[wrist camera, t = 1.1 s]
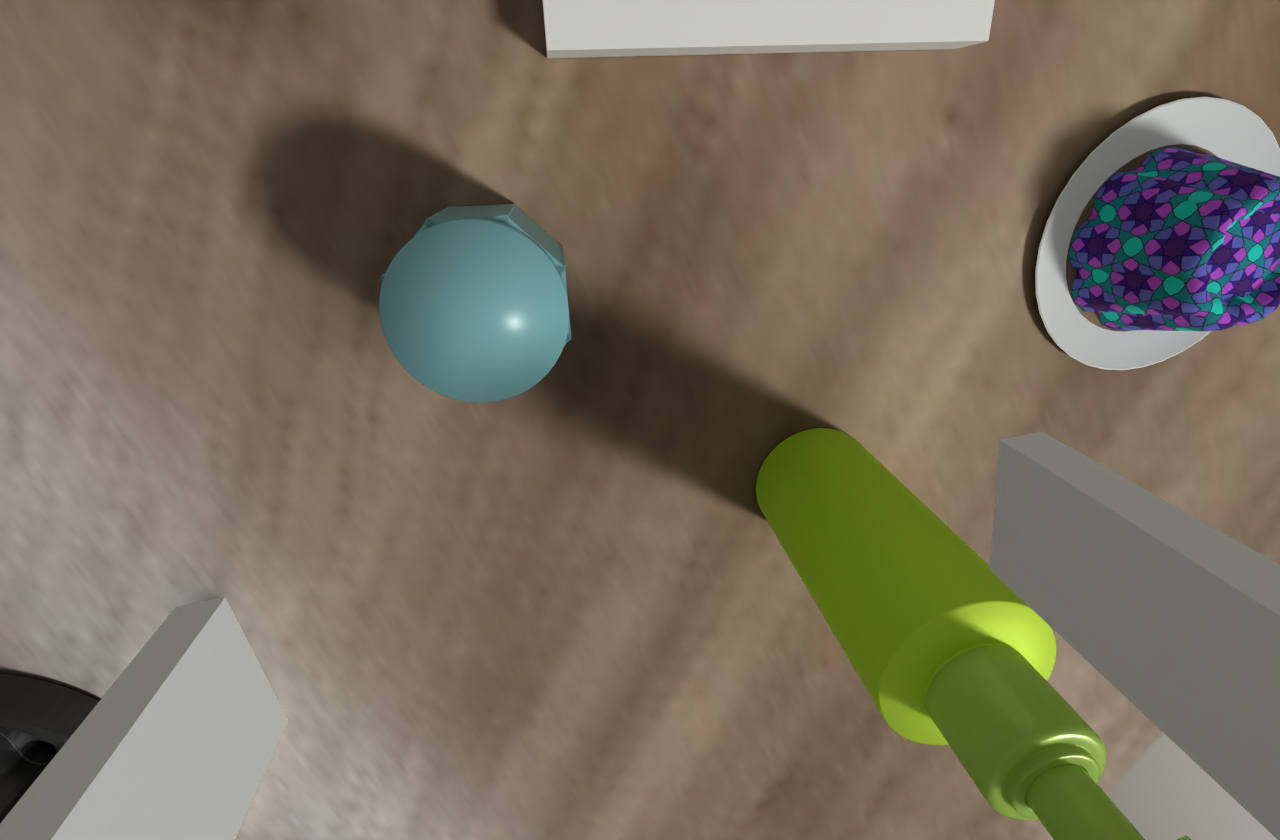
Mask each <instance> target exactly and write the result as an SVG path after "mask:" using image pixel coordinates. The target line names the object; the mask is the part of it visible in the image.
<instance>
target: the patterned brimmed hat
mask: <svg viewBox="0 0 1280 840" xmlns="http://www.w3.org/2000/svg"><path fill="white" fill-rule="evenodd" d="M1176 144H1186V145H1196V146H1198V147H1201V148H1204V149H1207V150H1209V151H1211V152H1212V153H1214V154H1215V155H1216V156H1218V157H1219V158H1218V157H1215V156H1212V155H1209V154H1203V155H1201V154H1198V153H1195V152H1192V151H1189V150H1185V149H1182V148H1172V147H1165V148H1162V149H1160V150H1158V151H1155V152H1153V153H1151V154H1149V155H1148V157H1147V158H1146V159H1145V160H1144V161H1143V163H1142V164H1141V165H1140V166H1139V168H1138V169H1137V170H1135V171H1120V172H1118V173H1117V174H1116V175H1114V176H1113V177H1112V178H1110V179H1109V180H1108V181H1107V182H1105V181H1106V180H1107V179H1108V178H1109V177H1110V176H1111V175H1112V174H1114V173H1115V172H1116V171H1117V170H1118V169H1119V168H1121V167H1122V166H1123V165H1125V164H1126V163H1128V162H1129V161H1131V160H1132V159H1134V158H1136V157H1138V156H1140V155H1142V154H1144V153H1146V152H1148V151H1150V150H1153V149H1156V148H1160V147H1163V146H1167V145H1176ZM1104 182H1105V184H1104V185H1103V186H1102V188H1101V189H1100V191H1099V192H1098V193H1097V195H1096V196H1095V198H1094V204H1093V211H1092V216H1091V217H1090V218H1089V219H1088V220H1087V221H1085V222H1084V223H1083V224H1082V225H1081V226H1080V227H1078V228H1077V230H1076V232H1075V234H1074V237H1073V239H1072V241H1071V244H1070V252H1069V261H1070V263H1071V264H1072V265H1073V267H1074V268H1075V269H1076V271H1077V275H1076V277H1075V280H1074V283H1073V285H1072V288H1071V291H1072V295H1073V299H1074V302H1075V304H1076V305H1077V306H1078V307H1079V308H1080V309H1081V310H1082V311H1091V312H1098V314H1099V317H1100V320H1101V324H1102V325H1104V326H1106V327H1108V328H1111V329H1113V330H1136V331H1128V332H1119V331H1110V330H1106V329H1103V328H1100V327H1098V326H1096V325H1094V324H1092V323H1090V322H1089V321H1088V320H1087V319H1086V318H1084V317H1083V316H1082V315H1081V314H1080V313H1079V311H1078V310H1077V308H1076V307H1075V305H1074V304H1073V301H1072V299H1071V296H1070V294H1069V291H1068V286H1067V280H1066V259H1067V253H1068V247H1069V243H1070V240H1071V237H1072V234H1073V231H1074V228H1075V226H1076V224H1077V222H1078V220H1079V217H1080V215H1081V213H1082V211H1083V210H1084V208H1085V207H1086V205H1087V204H1088V202H1089V201H1090V199H1091V198H1092V196H1093V195H1094V194H1095V192H1096V191H1097V190H1098V189H1099V188H1100V187H1101V185H1102V184H1103V183H1104ZM1035 283H1036V298H1037V303H1038V308H1039V313H1040V316H1041V318H1042V320H1043V323H1044V325H1045V327H1046V330H1047V332H1048V333H1049V334H1050V336H1051V337H1052V339H1053V340H1054V341H1055V343H1056V344H1057V346H1059V347H1060V348H1061V349H1062V350H1063V351H1064V352H1066V353H1067V354H1068V355H1069V356H1070V357H1072V358H1074V359H1076V360H1078V361H1080V362H1082V363H1084V364H1086V365H1089V366H1093V367H1097V368H1101V369H1109V370H1127V369H1134V368H1141V367H1145V366H1148V365H1151V364H1155V363H1158V362H1161V361H1164V360H1166V359H1168V358H1170V357H1172V356H1174V355H1176V354H1178V353H1181V352H1183V351H1184V350H1186V349H1187V348H1189V347H1190V346H1192V345H1193V344H1195V343H1197V342H1198V341H1200V340H1201V339H1203V338H1204V337H1205V336H1206V335H1207V334H1209V333H1210V332H1211V331H1217V330H1223V329H1227V328H1230V327H1232V326H1233V325H1246V324H1250V323H1253V322H1256V321H1258V320H1261V319H1263V318H1265V317H1266V316H1267V315H1269V314H1270V313H1271V312H1273V311H1274V310H1275V309H1276V308H1277V307H1278V305H1279V304H1280V148H1279V146H1278V144H1277V141H1276V139H1275V137H1274V135H1273V133H1272V132H1271V130H1270V129H1269V128H1268V127H1267V125H1266V124H1265V123H1264V122H1263V120H1262V119H1261V118H1260V117H1259V116H1257V115H1256V114H1254V113H1253V112H1252V111H1250V110H1249V109H1248V108H1246V107H1245V106H1242V105H1240V104H1237V103H1235V102H1232V101H1229V100H1227V99H1220V98H1212V97H1196V98H1186V99H1180V100H1177V101H1173V102H1170V103H1167V104H1163V105H1160V106H1157V107H1155V108H1153V109H1151V110H1149V111H1147V112H1145V113H1143V114H1141V115H1139V116H1137V117H1135V118H1133V119H1132V120H1131V121H1129V122H1128V123H1126V124H1125V125H1123V126H1122V127H1121V128H1119V129H1118V130H1116V131H1115V132H1113V133H1112V134H1111V135H1110V136H1109V137H1108V138H1106V139H1105V140H1104V141H1103V142H1102V143H1101V144H1100V145H1099V146H1098V147H1097V148H1096V149H1095V150H1094V151H1092V152H1091V153H1090V155H1089V156H1088V157H1087V158H1086V159H1085V161H1084V162H1083V163H1082V164H1081V165H1080V167H1079V168H1078V169H1077V170H1076V171H1075V173H1074V174H1073V175H1072V177H1071V178H1070V180H1069V182H1068V183H1067V185H1066V186H1065V188H1064V189H1063V191H1062V193H1061V194H1060V196H1059V197H1058V199H1057V201H1056V203H1055V206H1054V208H1053V210H1052V212H1051V214H1050V216H1049V218H1048V221H1047V223H1046V226H1045V229H1044V233H1043V236H1042V239H1041V242H1040V246H1039V250H1038V257H1037V264H1036V270H1035Z"/></svg>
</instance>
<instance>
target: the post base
mask: <svg viewBox="0 0 1280 840" xmlns="http://www.w3.org/2000/svg"><path fill="white" fill-rule="evenodd" d="M542 1H543V13H544V26H545V38H546V50H547V58H576V57H620V56H663V55H707V54H750V53H793V52H837V51H880V50H924V49H958V48H962V47H966V46H970V45H974V44H978V43H981V42H985V41H988V40H989V34H990V27H991V21H992V14H993V8H994V1H995V0H542Z"/></svg>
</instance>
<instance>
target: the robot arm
mask: <svg viewBox="0 0 1280 840" xmlns="http://www.w3.org/2000/svg"><path fill="white" fill-rule="evenodd" d="M989 569H990V570H991V571H992V572H993V573H994V574H995V575H996V576H997V577H998V578H999V579H1000V580H1001V581H1003V582H1004V583H1005V584H1006V585H1007V586H1008V587H1009V588H1010V589H1011V590H1012V591H1013V592H1014V593H1015V594H1016V595H1017V596H1019V597H1020V598H1021V599H1022V600H1023V601H1024V602H1025V603H1026V604H1027V605H1028V606H1029V607H1030V608H1031V609H1032V610H1033V611H1035V612H1036V613H1037V614H1038V615H1039V616H1040V617H1041V618H1042V619H1043V620H1044V621H1045V622H1046V623H1047V624H1048V625H1049V626H1051V627H1052V628H1053V629H1054V630H1055V631H1056V632H1057V633H1058V634H1059V635H1060V636H1061V637H1062V638H1063V639H1064V640H1065V641H1067V642H1068V643H1069V644H1070V645H1071V646H1072V647H1073V648H1074V649H1075V650H1076V651H1077V652H1078V653H1079V654H1080V655H1081V656H1083V657H1084V658H1085V659H1086V660H1087V661H1088V662H1089V663H1090V664H1091V665H1092V666H1093V667H1094V668H1095V669H1096V670H1097V671H1099V672H1100V673H1101V674H1102V675H1103V676H1104V677H1105V678H1106V679H1107V680H1108V681H1109V682H1110V683H1111V684H1112V685H1113V686H1115V687H1116V688H1117V689H1118V690H1119V691H1120V692H1121V693H1122V694H1123V695H1124V696H1125V697H1126V698H1127V699H1128V700H1129V701H1131V702H1132V703H1133V704H1134V705H1135V706H1136V707H1137V708H1138V709H1139V710H1140V711H1141V712H1142V713H1143V714H1144V715H1145V716H1147V717H1148V718H1149V719H1150V720H1151V721H1152V722H1153V723H1154V724H1155V725H1156V726H1157V727H1158V728H1159V729H1160V730H1161V731H1163V732H1164V733H1165V734H1166V735H1167V736H1168V737H1169V738H1170V739H1171V740H1172V741H1173V742H1174V743H1175V744H1176V745H1177V746H1179V747H1180V748H1181V749H1182V750H1183V751H1184V752H1185V753H1186V754H1187V755H1188V756H1189V757H1190V758H1191V759H1192V760H1194V761H1195V762H1196V763H1197V764H1198V765H1199V766H1200V767H1201V768H1202V769H1203V770H1204V771H1205V772H1206V773H1207V774H1209V776H1211V777H1212V778H1213V779H1214V780H1215V781H1216V782H1217V783H1218V784H1219V785H1220V786H1222V788H1223V789H1224V790H1225V791H1227V792H1228V793H1229V794H1230V795H1231V796H1232V797H1233V798H1234V799H1235V800H1236V801H1237V802H1238V803H1239V804H1240V805H1242V806H1243V807H1244V808H1245V809H1246V810H1247V811H1248V812H1249V813H1250V814H1251V815H1252V816H1253V817H1254V818H1255V819H1257V820H1258V821H1259V822H1260V823H1261V824H1262V825H1263V826H1264V827H1265V828H1266V829H1267V830H1268V831H1269V832H1270V833H1272V835H1274V836H1275V837H1276V838H1277V839H1278V840H1280V565H1279V564H1277V563H1276V562H1274V561H1272V560H1270V559H1268V558H1267V557H1265V556H1263V555H1261V554H1260V553H1258V552H1256V551H1254V550H1252V549H1251V548H1249V547H1247V546H1245V545H1244V544H1242V543H1240V542H1238V541H1236V540H1235V539H1233V538H1231V537H1229V536H1227V535H1226V534H1224V533H1222V532H1220V531H1219V530H1217V529H1215V528H1213V527H1211V526H1210V525H1208V524H1206V523H1204V522H1203V521H1201V520H1199V519H1197V518H1195V517H1194V516H1192V515H1190V514H1188V513H1186V512H1185V511H1183V510H1181V509H1179V508H1178V507H1176V506H1174V505H1172V504H1170V503H1169V502H1167V501H1165V500H1163V499H1162V498H1160V497H1158V496H1156V495H1154V494H1153V493H1151V492H1149V491H1147V490H1145V489H1144V488H1142V487H1140V486H1138V485H1137V484H1135V483H1133V482H1131V481H1129V480H1128V479H1126V478H1124V477H1122V476H1121V475H1119V474H1117V473H1115V472H1113V471H1112V470H1110V469H1108V468H1106V467H1104V466H1103V465H1101V464H1099V463H1097V462H1096V461H1094V460H1092V459H1090V458H1088V457H1087V456H1085V455H1083V454H1081V453H1080V452H1078V451H1076V450H1074V449H1072V448H1071V447H1069V446H1067V445H1065V444H1063V443H1062V442H1060V441H1058V440H1056V439H1055V438H1053V437H1051V436H1049V435H1047V434H1046V433H1044V432H1042V431H1041V432H1036V433H1031V434H1026V435H1021V436H1016V437H1012V438H1007V439H1002V440H1000V450H999V461H998V473H997V485H996V496H995V508H994V520H993V532H992V543H991V555H990V567H989ZM287 723H288V719H287V717H286V715H285V713H284V711H283V710H282V708H281V706H280V704H279V702H278V700H277V698H276V696H275V694H274V692H273V690H272V688H271V686H270V684H269V682H268V680H267V678H266V676H265V674H264V672H263V670H262V668H261V666H260V664H259V662H258V661H257V659H256V657H255V655H254V653H253V651H252V649H251V647H250V645H249V643H248V641H247V639H246V637H245V635H244V633H243V631H242V629H241V627H240V625H239V623H238V621H237V619H236V617H235V615H234V613H233V612H232V610H231V608H230V606H229V604H228V602H227V600H226V598H225V597H223V598H218V599H214V600H209V601H204V602H199V603H194V604H189V605H184V606H179V607H176V608H175V609H174V610H173V611H172V612H171V614H170V615H169V616H168V617H167V619H166V620H165V621H164V622H163V624H162V625H161V626H160V627H159V628H158V630H157V631H156V632H155V633H154V635H153V636H152V637H151V638H150V640H149V641H148V642H147V643H146V645H145V646H144V647H143V648H142V649H141V651H140V652H139V653H138V654H137V656H136V657H135V658H134V659H133V661H132V662H131V663H130V664H129V665H128V667H127V668H126V669H125V670H124V672H123V673H122V674H121V675H120V677H119V678H118V679H117V680H116V681H115V683H114V684H113V685H112V686H111V688H110V689H109V690H108V691H107V693H106V694H105V695H104V696H103V698H102V699H101V700H100V701H98V700H96V699H94V698H92V697H89V696H87V695H85V694H82V693H80V692H77V691H75V690H72V689H69V688H66V687H63V686H60V685H57V684H53V683H50V682H46V681H42V680H37V679H33V678H28V677H22V676H16V675H8V674H0V840H235V839H236V836H237V834H238V832H239V830H240V828H241V825H242V823H243V821H244V819H245V816H246V814H247V812H248V810H249V808H250V805H251V803H252V801H253V799H254V796H255V794H256V792H257V790H258V788H259V785H260V783H261V781H262V779H263V777H264V774H265V772H266V770H267V768H268V765H269V763H270V761H271V759H272V757H273V754H274V752H275V750H276V748H277V745H278V743H279V741H280V739H281V737H282V734H283V732H284V730H285V728H286V725H287Z"/></svg>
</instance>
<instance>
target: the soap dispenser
mask: <svg viewBox="0 0 1280 840" xmlns="http://www.w3.org/2000/svg"><path fill="white" fill-rule="evenodd" d="M756 497H757V501H758V504H759V507H760V509H761V511H762V513H763V514H764V516H765V518H766V519H767V521H768V523H769V524H770V526H771V528H772V530H773V531H774V533H775V535H776V536H777V538H778V540H779V541H780V543H781V545H782V547H783V548H784V550H785V552H786V553H787V555H788V557H789V558H790V560H791V562H792V563H793V565H794V567H795V569H796V570H797V572H798V574H799V575H800V577H801V579H802V580H803V582H804V584H805V586H806V587H807V589H808V591H809V592H810V594H811V596H812V597H813V599H814V601H815V602H816V604H817V606H818V608H819V609H820V611H821V613H822V614H823V616H824V618H825V619H826V621H827V623H828V624H829V626H830V628H831V630H832V631H833V633H834V635H835V636H836V638H837V640H838V641H839V643H840V645H841V647H842V648H843V650H844V652H845V653H846V655H847V657H848V658H849V660H850V662H851V663H852V665H853V667H854V669H855V670H856V672H857V674H858V675H859V677H860V679H861V680H862V682H863V684H864V686H865V687H866V689H867V691H868V692H869V694H870V696H871V697H872V699H873V701H874V702H875V704H876V706H877V708H878V709H879V711H880V713H881V714H882V716H883V718H884V719H885V721H886V722H887V724H888V725H889V726H890V727H891V728H892V729H893V730H894V731H895V732H896V733H898V734H899V735H901V736H903V737H904V738H907V739H909V740H911V741H914V742H918V743H922V744H929V745H949V746H950V747H951V749H952V750H953V752H954V753H955V755H956V756H957V757H958V759H959V760H960V762H961V763H962V765H963V766H964V768H965V769H966V771H967V772H968V774H969V775H970V777H971V778H972V780H973V781H974V783H975V784H976V786H977V787H978V789H979V790H980V792H981V793H982V795H983V796H984V798H985V799H986V800H987V802H988V803H989V804H990V806H991V807H992V808H993V809H994V810H995V811H996V812H998V813H999V814H1001V815H1003V816H1006V817H1008V818H1012V819H1017V820H1032V819H1035V820H1040V821H1041V822H1042V824H1043V825H1044V827H1045V828H1046V829H1047V831H1048V832H1049V833H1050V835H1051V836H1052V837H1053V839H1054V840H1145V839H1144V838H1143V837H1142V835H1141V834H1140V833H1139V832H1138V831H1137V830H1136V829H1135V827H1134V826H1133V825H1132V824H1131V823H1130V822H1129V820H1128V819H1127V818H1126V817H1125V816H1124V815H1123V814H1122V812H1121V811H1120V810H1119V809H1118V808H1117V807H1116V805H1115V804H1114V803H1113V802H1112V801H1111V800H1110V798H1109V797H1108V796H1107V795H1106V794H1105V793H1104V792H1103V790H1102V789H1101V788H1100V787H1099V786H1098V785H1097V784H1098V782H1099V779H1100V777H1101V776H1102V774H1103V771H1104V769H1105V766H1106V760H1107V755H1106V749H1105V746H1104V744H1103V742H1102V741H1101V739H1100V738H1099V736H1098V735H1097V734H1096V733H1095V732H1094V731H1093V730H1092V728H1091V727H1090V726H1089V725H1088V724H1087V723H1086V722H1085V721H1084V720H1083V719H1082V718H1081V717H1080V716H1079V715H1078V714H1077V712H1076V711H1075V710H1074V709H1073V708H1072V707H1071V706H1070V705H1069V704H1068V703H1067V702H1066V701H1065V700H1064V699H1063V698H1062V697H1061V695H1060V694H1059V693H1058V692H1057V691H1056V690H1055V689H1054V688H1053V687H1052V686H1051V685H1050V684H1049V683H1048V682H1047V681H1048V679H1049V677H1050V675H1051V672H1052V670H1053V667H1054V663H1055V658H1056V641H1055V636H1054V633H1053V630H1052V628H1051V626H1049V625H1048V624H1047V623H1046V622H1045V621H1044V620H1043V619H1042V618H1041V617H1040V616H1039V615H1038V614H1037V613H1036V612H1035V611H1033V610H1032V609H1031V608H1030V607H1029V606H1028V605H1027V604H1026V603H1025V602H1024V601H1023V600H1022V599H1021V598H1020V597H1019V596H1017V595H1016V594H1015V593H1014V592H1013V591H1012V590H1011V589H1010V588H1009V587H1008V586H1007V585H1006V584H1005V583H1004V582H1003V581H1001V580H1000V579H999V578H998V577H997V576H996V575H995V574H994V573H993V572H992V571H991V570H990V569H989V567H990V566H989V565H988V564H987V563H986V562H985V561H984V560H983V559H982V558H981V557H980V556H979V555H977V554H976V553H975V552H974V551H973V550H972V549H971V548H970V547H969V546H968V545H967V544H966V543H965V542H964V541H963V540H962V539H960V538H959V537H958V536H957V535H956V534H955V533H954V532H953V531H952V530H951V529H950V528H949V527H948V526H947V525H946V524H945V523H943V522H942V521H941V520H940V519H939V518H938V517H937V516H936V515H935V514H934V513H933V512H932V511H931V510H930V509H929V508H928V507H927V506H925V505H924V504H923V503H922V502H921V501H920V500H919V499H918V498H917V497H916V496H915V495H914V494H913V493H912V492H911V491H910V490H908V489H907V488H906V487H905V486H904V485H903V484H902V483H901V482H900V481H899V480H898V479H897V478H896V477H895V476H894V475H893V474H891V473H890V472H889V471H888V470H887V469H886V468H885V467H884V466H883V465H882V464H881V463H880V462H879V461H878V460H877V459H876V458H874V457H873V456H872V455H871V454H870V453H869V452H868V451H867V450H866V449H865V448H864V447H863V446H862V445H861V444H860V443H859V442H857V441H856V440H855V439H854V438H853V437H851V436H850V435H848V434H846V433H844V432H842V431H839V430H835V429H830V428H815V429H809V430H805V431H802V432H799V433H796V434H794V435H792V436H790V437H788V438H787V439H785V440H784V441H782V442H781V443H780V444H779V445H777V446H776V447H775V448H774V449H773V450H772V451H771V452H770V454H769V455H768V456H767V458H766V459H765V461H764V462H763V464H762V466H761V468H760V471H759V473H758V477H757V482H756ZM1178 840H1191V839H1190V838H1189V837H1188V836H1184V837H1182V838H1180V839H1178Z"/></svg>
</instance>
